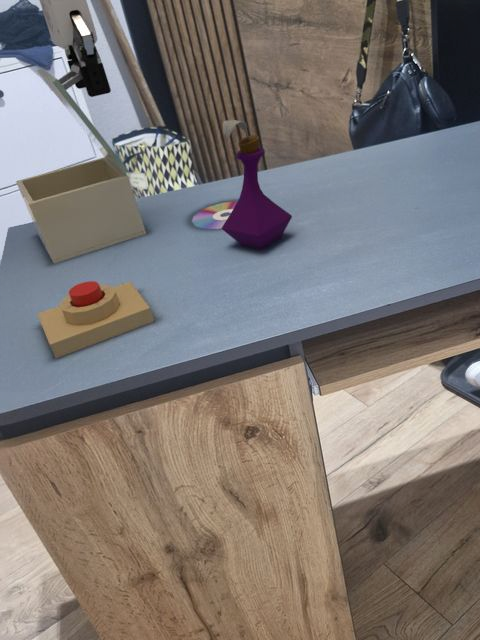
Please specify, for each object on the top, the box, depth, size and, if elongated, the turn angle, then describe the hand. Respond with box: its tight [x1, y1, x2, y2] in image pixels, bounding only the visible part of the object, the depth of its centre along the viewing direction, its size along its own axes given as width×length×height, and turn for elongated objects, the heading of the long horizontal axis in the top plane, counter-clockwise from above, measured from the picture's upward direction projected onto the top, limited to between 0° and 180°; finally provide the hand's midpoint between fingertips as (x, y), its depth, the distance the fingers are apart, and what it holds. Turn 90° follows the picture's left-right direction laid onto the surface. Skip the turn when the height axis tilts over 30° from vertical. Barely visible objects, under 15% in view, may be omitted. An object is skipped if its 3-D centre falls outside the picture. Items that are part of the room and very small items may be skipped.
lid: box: [36, 63, 129, 175], centre depth 97 cm, size 15×14×6 cm
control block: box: [37, 281, 155, 359], centre depth 79 cm, size 12×9×4 cm
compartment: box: [15, 156, 147, 264], centre depth 102 cm, size 15×14×10 cm
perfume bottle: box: [221, 119, 293, 250], centre depth 90 cm, size 8×8×18 cm
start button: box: [68, 280, 104, 307], centre depth 78 cm, size 4×4×2 cm
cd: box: [191, 200, 238, 230], centre depth 105 cm, size 11×11×1 cm
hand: (93, 89), depth 96 cm, fingers open, 8 cm apart
